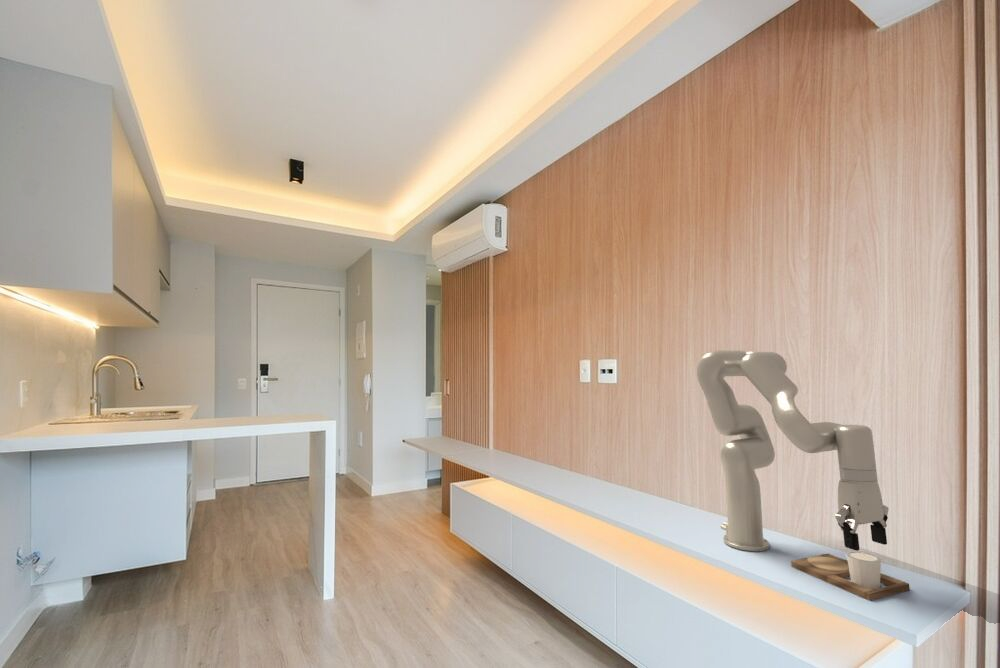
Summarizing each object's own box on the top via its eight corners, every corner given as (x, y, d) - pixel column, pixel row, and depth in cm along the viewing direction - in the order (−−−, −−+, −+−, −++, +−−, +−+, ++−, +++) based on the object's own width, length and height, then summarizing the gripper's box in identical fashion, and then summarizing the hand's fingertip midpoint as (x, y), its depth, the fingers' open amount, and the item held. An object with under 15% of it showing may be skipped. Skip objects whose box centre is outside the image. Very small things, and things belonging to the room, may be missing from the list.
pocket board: (791, 566, 128) (790, 559, 128) (828, 558, 132) (828, 552, 132) (869, 600, 109) (868, 592, 109) (909, 590, 113) (909, 582, 113)
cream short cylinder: (877, 594, 111) (875, 564, 112) (843, 584, 117) (841, 555, 118) (887, 586, 115) (885, 557, 116) (854, 576, 121) (851, 548, 122)
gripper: (866, 469, 124) (873, 536, 123) (818, 475, 119) (826, 546, 117) (898, 474, 117) (906, 545, 116) (849, 481, 112) (857, 556, 110)
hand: (866, 545), depth 116 cm, fingers open, 9 cm apart
